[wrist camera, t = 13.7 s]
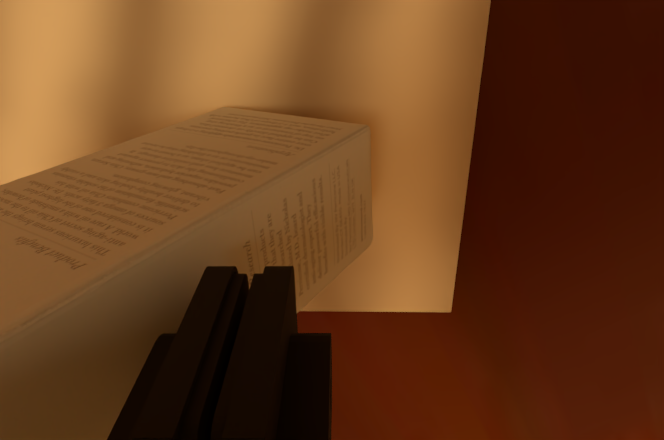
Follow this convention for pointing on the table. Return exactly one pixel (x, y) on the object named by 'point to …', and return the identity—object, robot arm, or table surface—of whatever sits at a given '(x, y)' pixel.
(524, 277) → the table surface
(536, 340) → the table surface
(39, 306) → the skincare box
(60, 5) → the board
